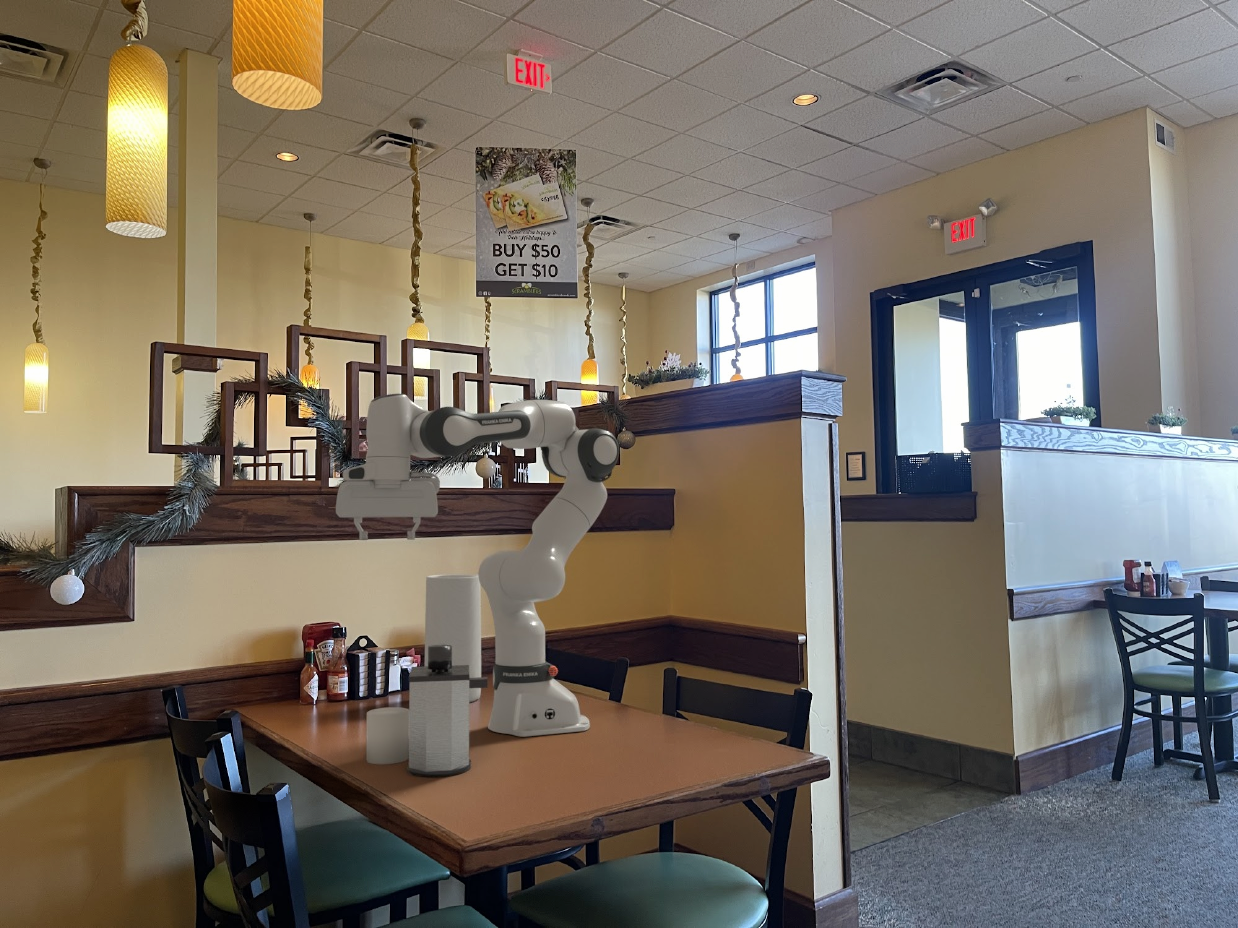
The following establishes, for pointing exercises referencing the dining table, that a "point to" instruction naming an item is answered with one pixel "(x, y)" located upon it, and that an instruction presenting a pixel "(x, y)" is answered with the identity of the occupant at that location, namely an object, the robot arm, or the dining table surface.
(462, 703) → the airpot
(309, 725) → the dining table surface
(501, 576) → the robot arm
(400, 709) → the diner mug
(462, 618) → the vase
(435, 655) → the pump plunger
